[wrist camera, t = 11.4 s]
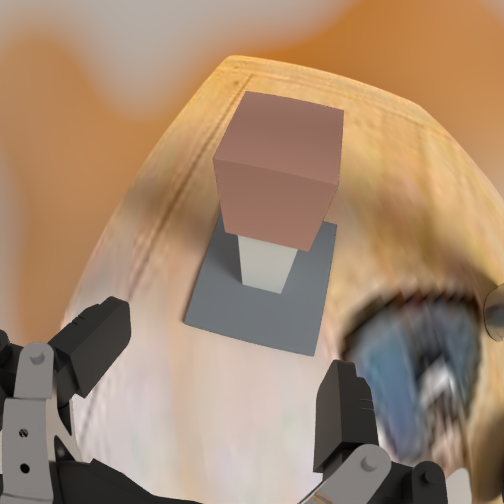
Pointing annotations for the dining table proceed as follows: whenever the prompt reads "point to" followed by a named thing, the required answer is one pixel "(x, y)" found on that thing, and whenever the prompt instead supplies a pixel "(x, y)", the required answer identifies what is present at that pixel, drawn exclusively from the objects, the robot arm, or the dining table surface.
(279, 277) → the square base with post
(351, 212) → the dining table surface
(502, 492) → the decorative sphere
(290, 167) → the cap
